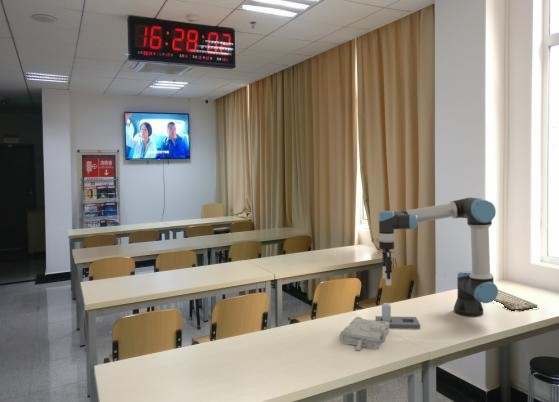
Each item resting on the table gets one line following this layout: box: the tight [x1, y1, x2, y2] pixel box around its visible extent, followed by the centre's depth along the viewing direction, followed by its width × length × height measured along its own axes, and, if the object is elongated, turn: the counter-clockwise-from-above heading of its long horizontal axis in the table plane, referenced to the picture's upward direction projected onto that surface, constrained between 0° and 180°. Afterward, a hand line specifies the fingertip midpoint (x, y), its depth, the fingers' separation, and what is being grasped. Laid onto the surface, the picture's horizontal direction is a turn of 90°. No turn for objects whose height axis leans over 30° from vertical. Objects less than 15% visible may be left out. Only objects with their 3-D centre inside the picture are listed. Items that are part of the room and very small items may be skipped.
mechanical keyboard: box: [494, 289, 539, 312], centre depth 270 cm, size 38×19×3 cm, turn 12°
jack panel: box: [375, 315, 421, 330], centre depth 233 cm, size 21×12×2 cm, turn 83°
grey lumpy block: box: [339, 316, 390, 351], centre depth 214 cm, size 19×28×8 cm
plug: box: [381, 302, 392, 322], centre depth 233 cm, size 4×4×11 cm
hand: (386, 281), depth 232 cm, fingers open, 13 cm apart
